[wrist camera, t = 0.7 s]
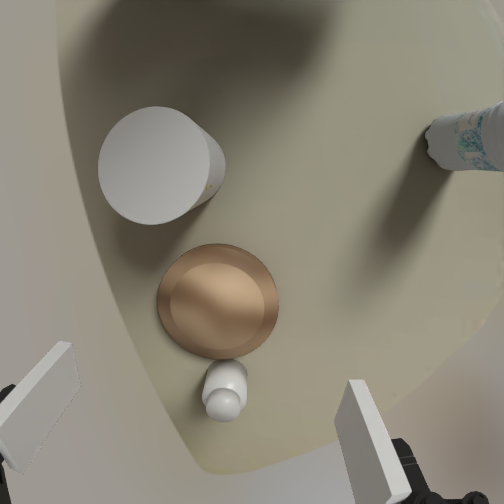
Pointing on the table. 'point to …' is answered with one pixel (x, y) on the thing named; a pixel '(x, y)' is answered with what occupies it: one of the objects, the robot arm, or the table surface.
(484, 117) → the bottle
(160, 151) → the white cylindrical piece
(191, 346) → the brown wooden plate
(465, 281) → the table surface
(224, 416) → the white knobbed rounded part
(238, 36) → the table surface
